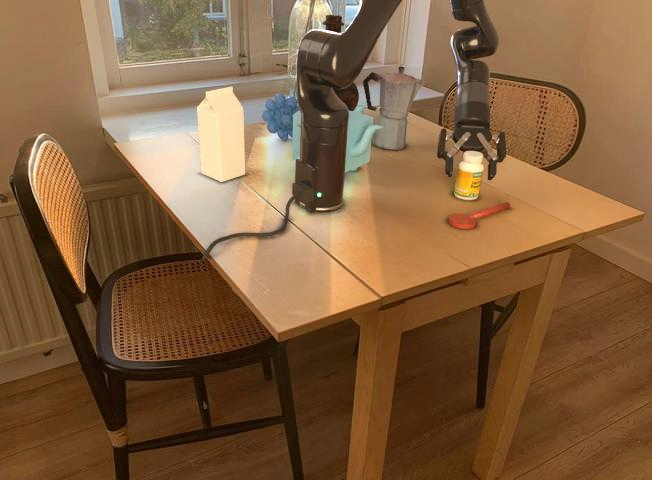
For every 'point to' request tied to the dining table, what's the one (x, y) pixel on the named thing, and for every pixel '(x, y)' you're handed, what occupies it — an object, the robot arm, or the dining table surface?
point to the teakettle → (356, 138)
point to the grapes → (280, 115)
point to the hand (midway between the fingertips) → (470, 177)
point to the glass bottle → (351, 92)
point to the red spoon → (474, 216)
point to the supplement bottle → (469, 176)
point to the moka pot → (393, 106)
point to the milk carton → (221, 135)
